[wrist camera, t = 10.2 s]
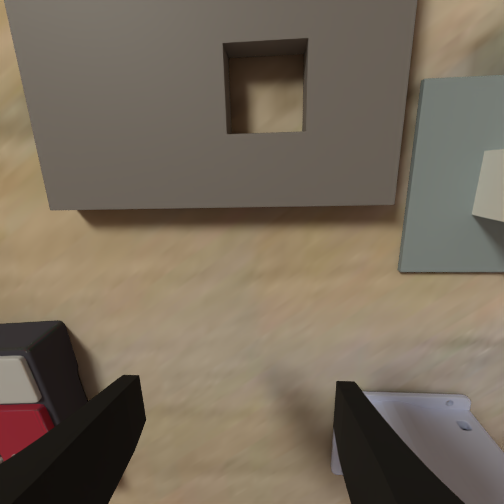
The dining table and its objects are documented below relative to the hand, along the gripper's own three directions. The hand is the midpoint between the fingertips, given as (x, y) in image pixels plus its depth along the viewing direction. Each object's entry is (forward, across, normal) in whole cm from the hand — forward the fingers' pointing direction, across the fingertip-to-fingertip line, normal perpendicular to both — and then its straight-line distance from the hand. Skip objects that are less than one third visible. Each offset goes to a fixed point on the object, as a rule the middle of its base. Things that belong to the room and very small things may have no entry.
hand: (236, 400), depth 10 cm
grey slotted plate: (+10, +2, -12) cm, 16 cm away
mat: (+10, -15, -7) cm, 19 cm away
